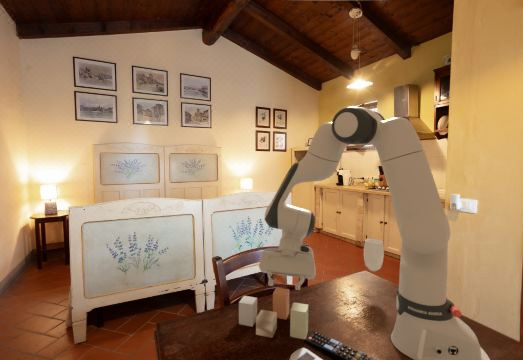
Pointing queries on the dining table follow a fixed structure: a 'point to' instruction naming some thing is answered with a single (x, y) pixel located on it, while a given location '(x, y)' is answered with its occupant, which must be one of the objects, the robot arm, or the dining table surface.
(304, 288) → the dining table surface
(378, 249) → the cup
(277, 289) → the terracotta block
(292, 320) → the sage block
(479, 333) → the dining table surface
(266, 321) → the off-white cube
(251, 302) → the light grey block
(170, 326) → the dining table surface
